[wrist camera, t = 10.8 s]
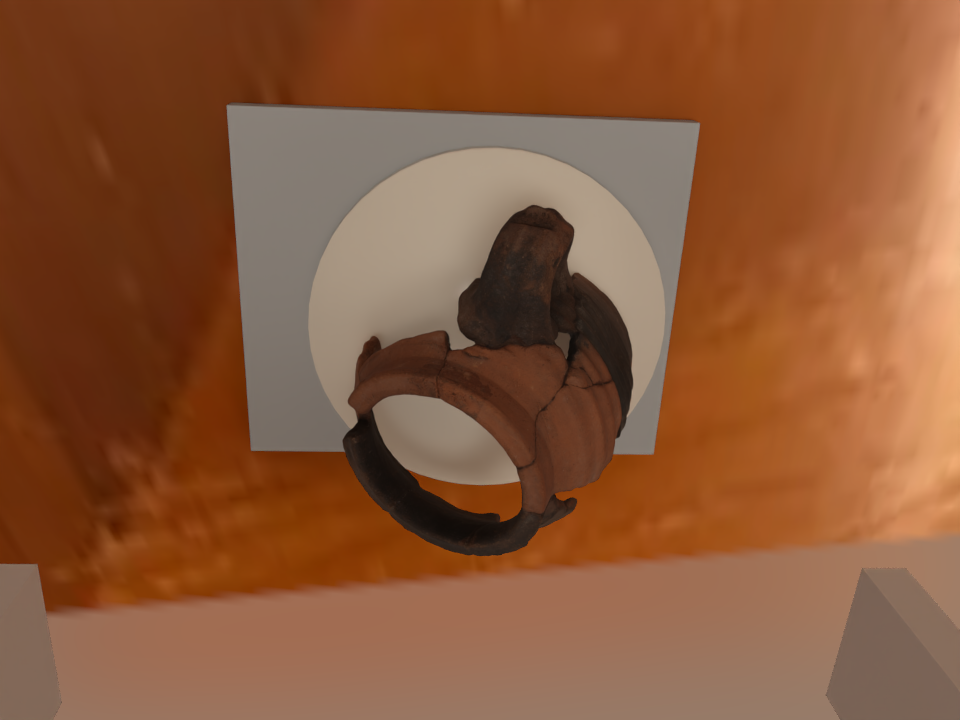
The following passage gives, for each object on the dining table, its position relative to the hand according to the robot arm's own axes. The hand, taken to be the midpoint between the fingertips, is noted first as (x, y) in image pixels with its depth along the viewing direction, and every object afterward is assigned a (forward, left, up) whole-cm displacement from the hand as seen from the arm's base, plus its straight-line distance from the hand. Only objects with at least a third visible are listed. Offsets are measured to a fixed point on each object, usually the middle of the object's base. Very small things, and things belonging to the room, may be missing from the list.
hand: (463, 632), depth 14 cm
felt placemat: (+1, -1, -19) cm, 19 cm away
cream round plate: (+2, -2, -18) cm, 19 cm away
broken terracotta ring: (+2, -2, -18) cm, 18 cm away
